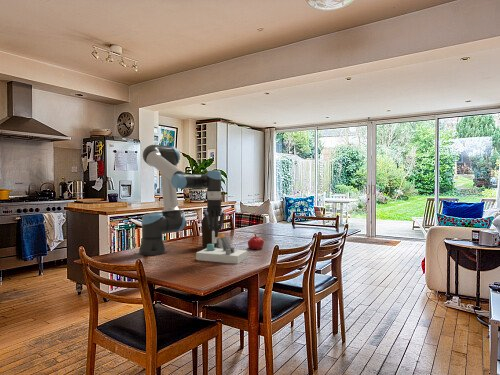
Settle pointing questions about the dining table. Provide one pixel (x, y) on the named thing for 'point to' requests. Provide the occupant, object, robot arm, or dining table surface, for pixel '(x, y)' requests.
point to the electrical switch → (220, 243)
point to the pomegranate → (255, 242)
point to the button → (210, 247)
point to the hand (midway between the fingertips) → (214, 243)
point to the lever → (225, 241)
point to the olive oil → (206, 234)
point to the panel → (222, 255)
